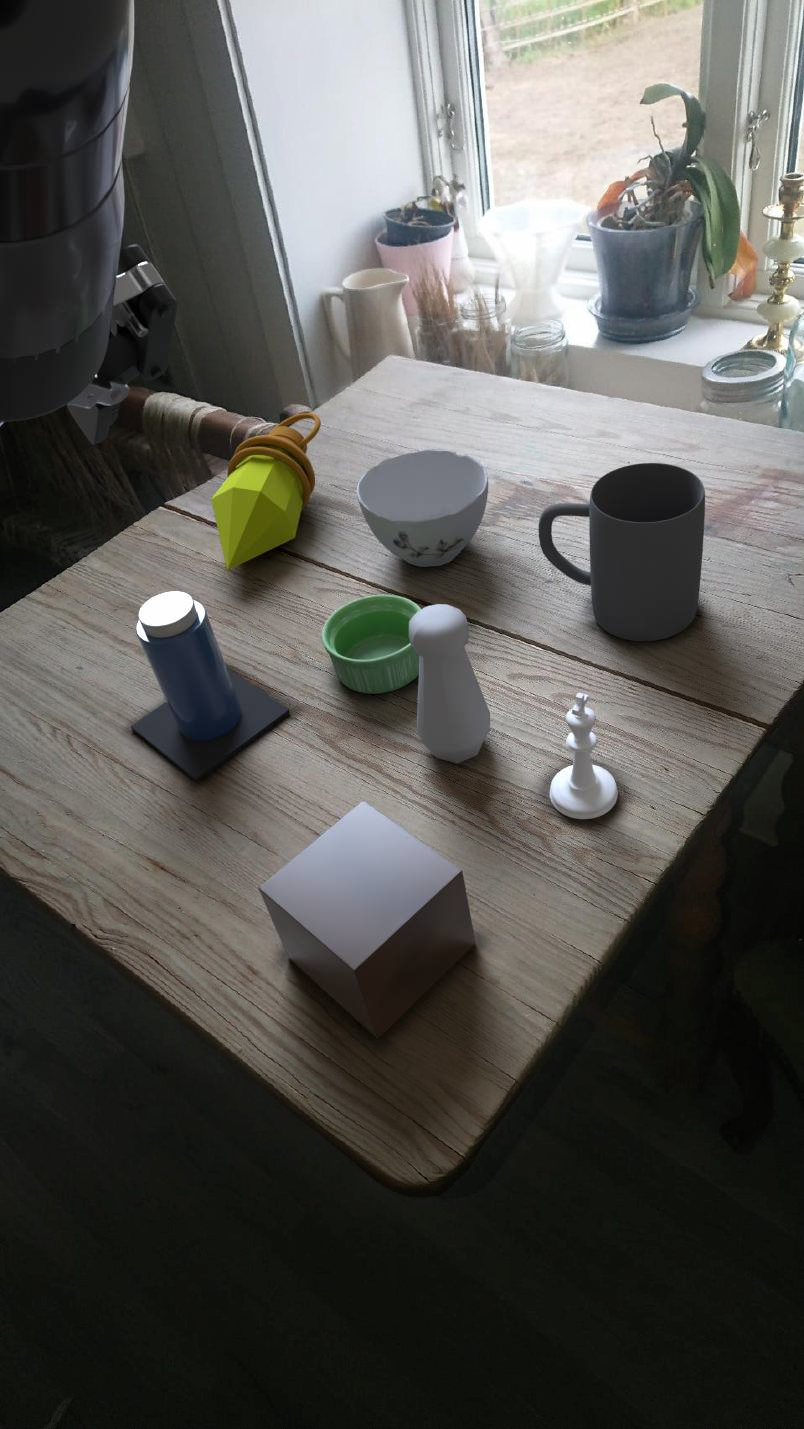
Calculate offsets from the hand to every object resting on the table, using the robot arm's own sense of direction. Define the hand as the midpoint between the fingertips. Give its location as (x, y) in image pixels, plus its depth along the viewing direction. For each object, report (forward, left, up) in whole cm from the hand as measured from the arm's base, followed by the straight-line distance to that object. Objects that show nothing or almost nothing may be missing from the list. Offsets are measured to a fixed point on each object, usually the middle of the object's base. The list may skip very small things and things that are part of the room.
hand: (1, 465), depth 43 cm
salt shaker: (+23, 0, -37) cm, 43 cm away
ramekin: (+26, +12, -37) cm, 47 cm away
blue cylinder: (+12, +19, -36) cm, 42 cm away
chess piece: (+25, -11, -37) cm, 46 cm away
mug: (+44, 0, -37) cm, 57 cm away
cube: (+6, -9, -37) cm, 38 cm away
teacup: (+42, +21, -37) cm, 59 cm away
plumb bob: (+35, +38, -37) cm, 64 cm away
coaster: (+12, +19, -37) cm, 43 cm away
